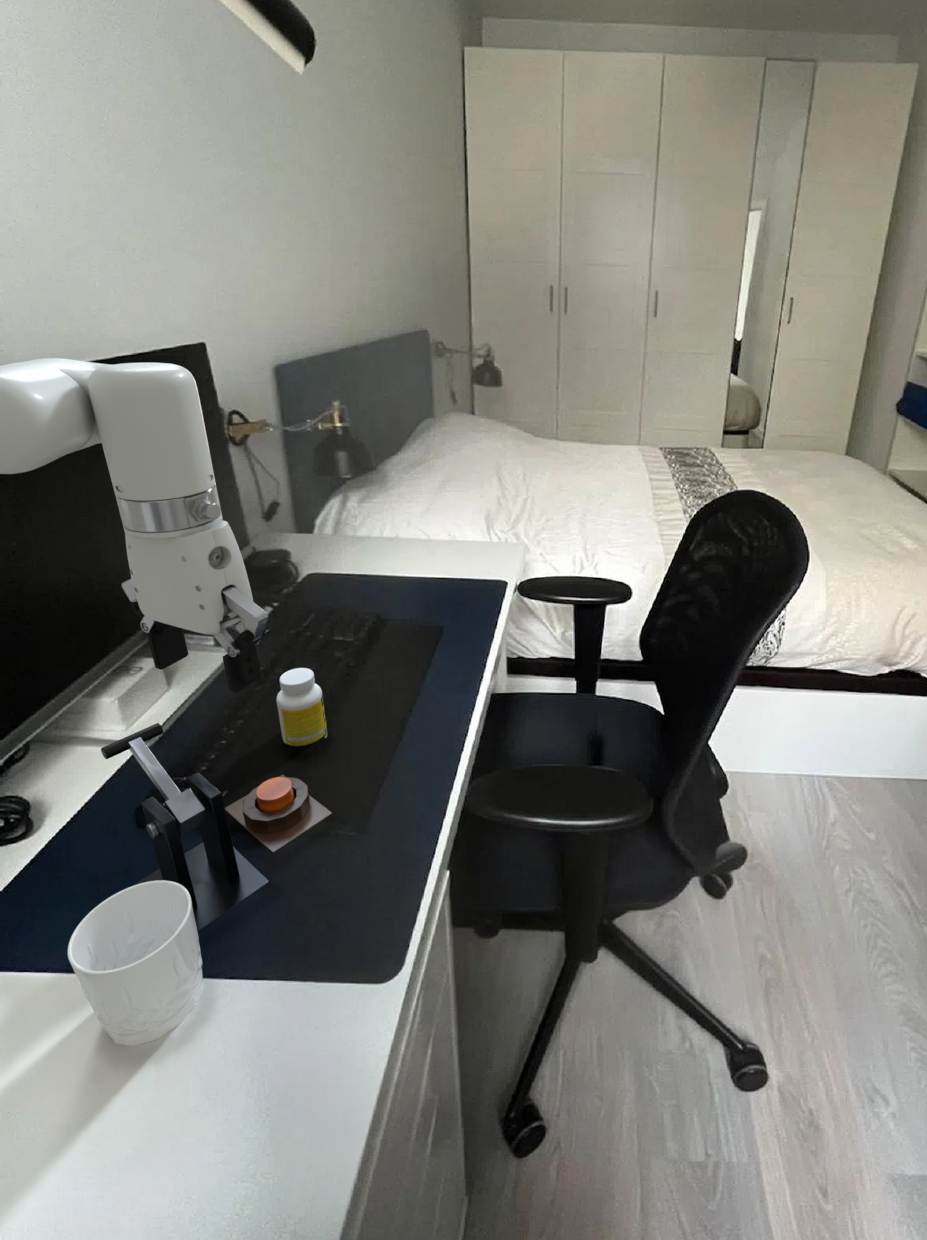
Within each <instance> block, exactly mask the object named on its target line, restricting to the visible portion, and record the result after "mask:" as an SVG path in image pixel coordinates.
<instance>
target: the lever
mask: <svg viewBox="0 0 927 1240" xmlns="http://www.w3.org/2000/svg"><path fill="white" fill-rule="evenodd" d="M163 734H164V729H163V727H162V725H161V724H160V723H159V722H157V723H154V724H152V725H150V726H147V727H145V728H143V729H141V730H139V731H136V732H134V733H132V734H130V735H127V736H125V737H123V738H121V739H119V740H116V741H113V742H111V743H109V744H107V745H105V746H103V747H101V748H100V752H101V755H102V756H103V758H104V759H105V760H108V759H111V758H113V757H115V756H117V755H120V754H122V753H124V752H126V751H128V750H129V751H130V753H131V754H132V755H133V757H134V758H135V760H136V761H137V762H138V764H139V765H140V766H141V768H142V770H143V771H144V772H145V773H146V775H147V776H148V777H149V779H150V781H151V782H152V783H153V785H154V786H155V788H156V789H157V790H158V792H159V793H160V795H161V796H162V797H163V799H164V800H165V801H164V808H165V809H166V810H167V811H168V812H169V813H170V814H171V815H172V816H173V817H174V818H175V821H176V824H177V828H178V832H179V836H180V838H182V837H185V835H187V834H189V833H190V832H193V831H195V830H196V829H198V828H200V827H199V826H201V825H203V824H205V808H204V806H203V805H202V804H201V802H200V801H199V800H198V798H197V797H196V796H195V794H194V793H193V792H192V790H191V789H190V787H189V788H187V789H185V790H184V791H182V792H181V790H180V789H179V788H178V786H177V785H176V783H175V782H174V780H173V779H172V778H171V776H170V775H169V774H168V772H167V771H166V770H165V769H164V766H162V764H161V763H160V761H159V760H158V759H157V757H156V756H155V755H154V754H153V752H152V750H151V749H150V747H148V745H147V744H146V742H148V741H150V740H152V739H154V738H156V737H159V736H161V735H163Z"/></svg>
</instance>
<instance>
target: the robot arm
mask: <svg viewBox="0 0 927 1240" xmlns="http://www.w3.org/2000/svg"><path fill="white" fill-rule="evenodd" d="M204 420H205V419H204V415H203V409H202V405H201V399H200V395H199V389H198V385H197V382H196V379H195V377H194V376H193V374H192V372H191V371H189V370H188V369H187V368H185V367H184V366H181V365H179V364H174V363H167V362H124V363H116V364H115V363H114V364H108V363H100V362H92V361H84V360H78V359H70V358H62V357H45V358H44V357H43V358H36V359H30V360H25V361H19V362H11V363H6V364H1V365H0V475H16V474H22V473H26V472H31V471H33V470H37V469H38V468H41V467H43V466H46V465H49V464H50V463H52V462H54V461H56V460H58V459H60V458H62V457H65V456H66V455H68V454H73V453H75V452H77V451H80V450H81V451H82V450H85V449H87V448H90V447H92V446H95V445H97V444H98V445H99V444H101V445H102V450H103V453H104V457H105V461H106V465H107V469H108V473H109V476H110V481H111V483H112V485H111V486H112V488H113V492H114V496H115V499H116V504H117V507H118V511H119V516H120V519H121V524H122V527H123V532H124V538H125V549H126V556H127V561H128V567H129V574H130V578H128V579H127V580H126V581H122V582H121V588H122V590H123V592H124V593H125V595H126V597H127V598H128V600H129V602H131V605H130V606H131V610H132V611H133V612H134V613H135V614H136V615H137V616H138V618H139V619H140V620H141V621H140V622H139V623H140V625H139V626H140V628H141V630H142V631H143V632H144V633H147V634H146V636H147V641H148V645H149V649H150V652H151V656H152V661H153V664H154V667H155V669H158V670H160V671H161V670H165V669H166V668H168V667H170V666H172V665H174V664H175V663H178V662H180V661H181V660H183V659H185V658H187V657H188V656H189V651H188V646H187V641H186V637H185V633H184V630H187V631H189V632H194V633H199V634H202V635H209V636H213V637H214V638H215V639H216V641H217V643H219V645H220V646H221V647H222V648H223V650H224V651H225V653H226V654H224V655H223V656H222V662H223V667H224V671H225V676H226V681H227V686H228V689H229V691H230V692H232V693H234V694H237V693H239V692H240V691H243V690H244V689H245V688H247V687H249V686H250V685H252V684H253V683H255V682H256V681H259V679H260V678H261V677H262V671H261V666H260V661H259V656H258V650H257V645H258V644H260V642H261V639H262V638H263V637H264V636H265V634H266V630H265V629H266V626H267V623H268V620H269V615H268V612H266V610H264V608H262V607H261V606H259V605H258V604H257V603H256V602H254V598H253V593H252V588H251V586H250V585H251V584H250V580H249V577H248V573H247V569H246V566H245V562H244V559H243V556H242V553H241V550H240V547H239V544H238V542H237V539H236V537H235V534H234V532H233V530H232V528H231V526H230V524H229V522H228V521H226V520H223V519H224V518H223V514H222V509H221V508H222V507H221V503H220V498H219V493H218V492H219V491H218V487H217V484H216V477H215V473H214V467H213V463H212V455H211V451H210V446H209V441H208V435H207V430H206V426H205V425H206V424H205V421H204ZM226 616H228V617H229V619H227V620H226V621H224V622H223V620H224V617H226ZM220 622H221V623H220ZM233 627H234V628H235V629H236V630H237V631H238V633H239V635H238V636H237V637H236V638H235V639H234V638H233V637H232V636H231V635H230V633H229V632H228V631H227V630H230V629H232V628H233Z"/></svg>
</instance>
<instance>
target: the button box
mask: <svg viewBox="0 0 927 1240" xmlns="http://www.w3.org/2000/svg"><path fill="white" fill-rule="evenodd" d="M278 777H285V778H288V779H290V780H291V782H292V786H293V792H294V799H293V801H292V803H291V804H290V805H289V806H287V807H285V808H284V809H282V810H278V811H274V812H271V813H270V812H263V811H261V810H260V809H259V807H258V802H257V797H256V791H257V788H258V787H259V786H260V785H258V786H256V787H254V788H253V789H251V790H250V792H249V793H248V794H245V795H244V796H243V797H241V798H239V799H238V800H236V801H234V802H232V803H231V804H229V805H227V806H226V807H224V808H225V812H226V813H227V814H229V816H231V817H232V818H233V819H234V820H235V821H236V822H237V823H238V824H240V825H241V826H242V828H244V829H245V830H246V831H247V832H249V833H250V834H251V836H253V838H255V839H256V840H257V841H259V842H260V844H262V845H263V846H264V847H265V848H266V849H267V850H268V851H270V853H272V854H274V853H276V852H278V851H279V850H280V849H282V848H283V847H285V846H286V845H288V844H290V843H291V842H292V841H294V840H295V839H297V838H298V837H300V836H301V835H303V834H304V833H306V832H307V831H309V830H310V829H312V828H314V827H315V826H316V825H318V824H320V823H321V822H322V821H324V820H325V819H327V818H328V817H330V816H331V815H333V812H332V811H331V810H330V809H328V808H327V807H326V806H325V805H323V804H322V803H320V802H319V801H318V800H317V799H315V798H314V797H312V796H311V795H310V792H309V786H308V784H306V783H305V782H304V781H303V780H302V779H300V778H298V777H288V776H286V775H284V774H281V775H279V776H278Z"/></svg>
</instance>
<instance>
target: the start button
mask: <svg viewBox="0 0 927 1240" xmlns="http://www.w3.org/2000/svg"><path fill="white" fill-rule="evenodd" d="M258 786H259V787H258ZM258 786H257V787H258V788H257V791H256V797H257V802H258V807H259V809H260V810H261V811H263V812H270V813H271V812H274V811H278V810H282V809H284V808H285V807H287V806H289V805H290V804H291V803H292V801H293V799H294V792H293V786H292V782H291V780H290V779H288V778H285V777H279V776H276V777H271V778H269V779H267V780H265V781H263V782H261V784H259V785H258Z"/></svg>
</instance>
